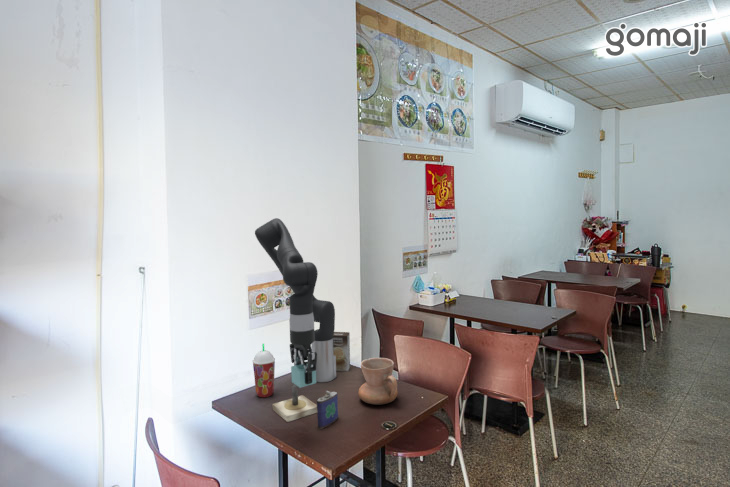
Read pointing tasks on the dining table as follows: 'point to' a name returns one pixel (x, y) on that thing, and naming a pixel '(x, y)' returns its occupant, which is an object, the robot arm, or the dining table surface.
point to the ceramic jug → (378, 381)
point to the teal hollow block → (301, 375)
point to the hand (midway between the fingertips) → (303, 380)
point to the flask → (327, 409)
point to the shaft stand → (295, 406)
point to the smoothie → (264, 373)
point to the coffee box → (342, 350)
